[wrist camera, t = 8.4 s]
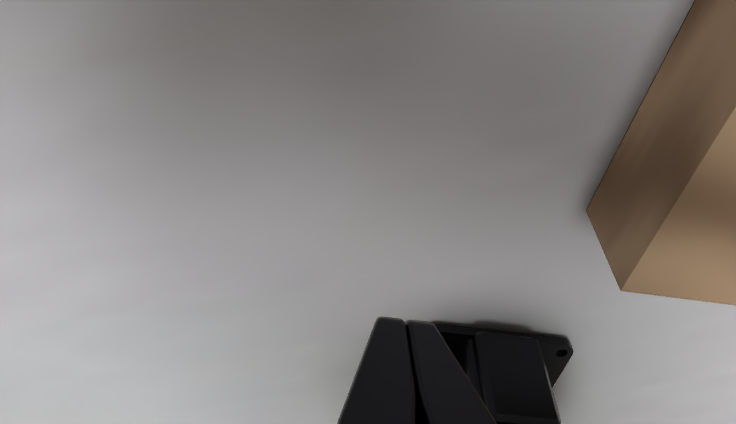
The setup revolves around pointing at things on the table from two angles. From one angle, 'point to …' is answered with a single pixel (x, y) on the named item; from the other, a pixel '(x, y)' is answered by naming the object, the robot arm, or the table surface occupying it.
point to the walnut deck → (678, 171)
